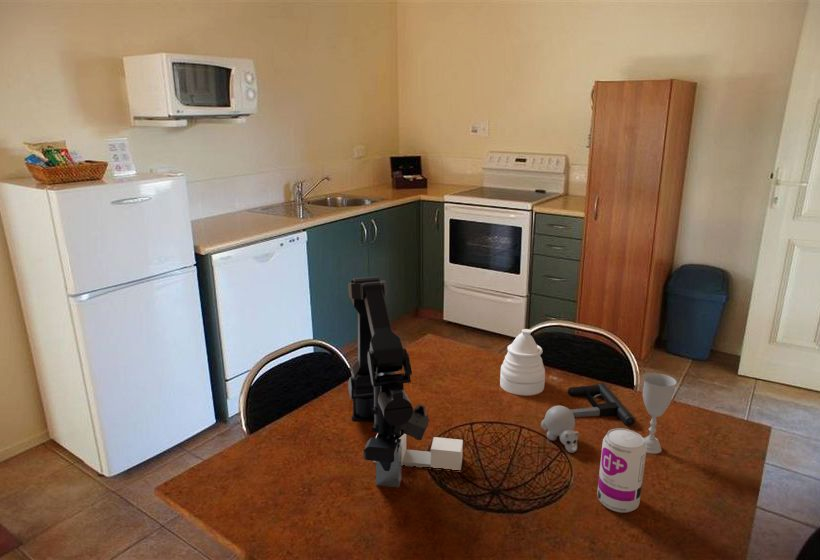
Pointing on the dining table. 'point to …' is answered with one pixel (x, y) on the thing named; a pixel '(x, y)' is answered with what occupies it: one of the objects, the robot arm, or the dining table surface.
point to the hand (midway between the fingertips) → (388, 466)
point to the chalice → (656, 403)
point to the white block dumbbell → (434, 454)
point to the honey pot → (523, 366)
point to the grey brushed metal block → (390, 471)
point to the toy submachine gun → (602, 409)
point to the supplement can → (621, 470)
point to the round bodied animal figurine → (561, 427)
